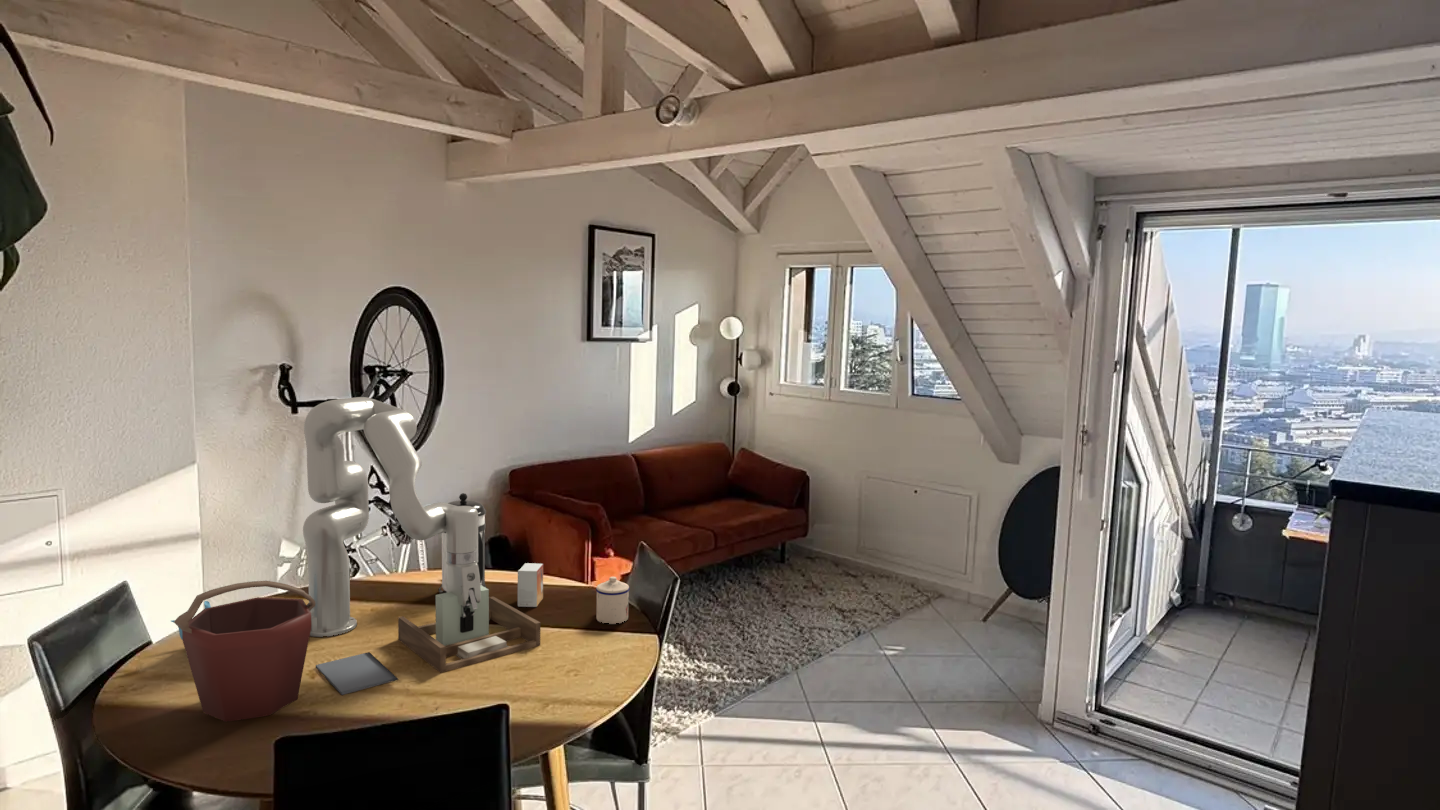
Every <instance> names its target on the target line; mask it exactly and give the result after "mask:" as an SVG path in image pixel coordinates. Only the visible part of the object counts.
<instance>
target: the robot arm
mask: <svg viewBox="0 0 1440 810" xmlns="http://www.w3.org/2000/svg"><path fill="white" fill-rule="evenodd" d="M303 423H304V424H303V432H304V433H303V434H304V440H305V446H306V469H307V470H306V471H307V472H306V473H307V474H306V475H307V489H308V491H307V492H308V494H309V497H310V498H311V499H312V501H313V502H316V503H318V504H328V503H329V504H330V503H332V502H335V504H332V505H329V506H326V507H323V508H320V509H317V510H316V511H313V512H312V513H310V514H309V515H308V516H307V517H306V519H305V521H304V522H303V525H302V534H303V540H304V543H305V547H306V553H307V554H306V555H307V574H308V575H307V579H308V580H307V581H308V594H309V595H310V596H311V597H312V598H313V599H314V600H315V602H316V604H315V607H314V608H312V609H311V610H310V612H311V631H310V637H315V638H318V637H319V638H323V636H327V637H333V635H334V636H338V634H339V635H342V633H343V634H346V633H348V631H349V632H351V631H352V630H354V629H355V628H356V627H357V625H358V624H357V623H358V620H357V619H356V618H355V617H354V616H351V599H350V598H351V589H350V586H351V585H350V584H351V583H350V582H351V581H350V558H349V554H348V551H347V549H346V547H345V544H344V541H346V540H348V539H350V538H353V537H356V536H358V535H360V534H361V533H363V532H364V531H365V530H366V528H367V526H368V524H369V519H370V518H369V517H370V513H369V512H370V507H369V506H370V505H369V504H370V503H369V480H368V476H367V473H366V471H365V469H364V468H363V467H362V465H360V463H358V462H355V461H353V460H345V449H344V445H343V442H342V440H341V438H340V436H339V435H340V434H345V433H348V432H355V431H361V430H363V432H364V436H365V438H366V440H367V442H368V443H369V445H370V447H371V448H372V450H373V452H374V453H375V456H376V457H377V459H378V461H379V463H380V465H381V466H382V467H383V469H384V471H385V473H386V474H387V476H388V480H389V486H388V488H389V489H388V492H389V500H390V506H391V510H392V512H393V515H394V516H395V518H396V519H397V521H398V523H399V524H400V527H402V529H403V531H404V533H406V535H407V536H409V537H410V538H411V539H413V540H415V541H426V540H429V539H430V538H433V537H434V536H437V535H440V534H441V535H442V533H444V532H446V564H447V565H448V568H447V592H451V593H453V594H454V595H456V596H457V598H458V604H460V605H461V612H462V617H460V632H461V633H464V632H468V631H472V630H473V615H474V611H475V610H476V609H477V603H479V602H480V601H481V586H480V574H479V568H478V564H477V563H478V511H477V509H476V508H474V507H471V506H455V505H451V504H447V502H435V503H432V504H428V505H426V506H423V504H422V503H421V501H420V499H419V497H418V495H417V491H416V478H417V475H418V473H419V471H420V469H421V468H422V463H423V462H422V460H421V458H420V456H419V454H418V453H417V451H416V449H415V448H414V445H413V444H412V442H411V440H412V439H413V438H415V435H416V433H417V431H418V430H417V429H418V427H417V422H416V420H415V418H414V417H413V415H412V414H411V413H410V412H408V411H406V410H404V409H403V408H400V407H397V406H394V405H391V404H389V403H385V402H382V401H380V400H378V399H374V398H371V397H367V396H357V397H356V396H355V397H349V398H347V397H346V398H338V399H331V400H327V401H324V402H321V403H319V404H317V405H315V406H314V407H312V409H310V410H309V411H308V413H307V415H306V417H305V419H304V422H303ZM447 592H446V593H447ZM466 601H469V603H466ZM476 602H477V603H476ZM308 603H310V601H309V600H308ZM466 606H470V607H469V608H467V609H466V611H465V607H466ZM350 630H351V631H350ZM345 632H346V633H345Z"/></svg>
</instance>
